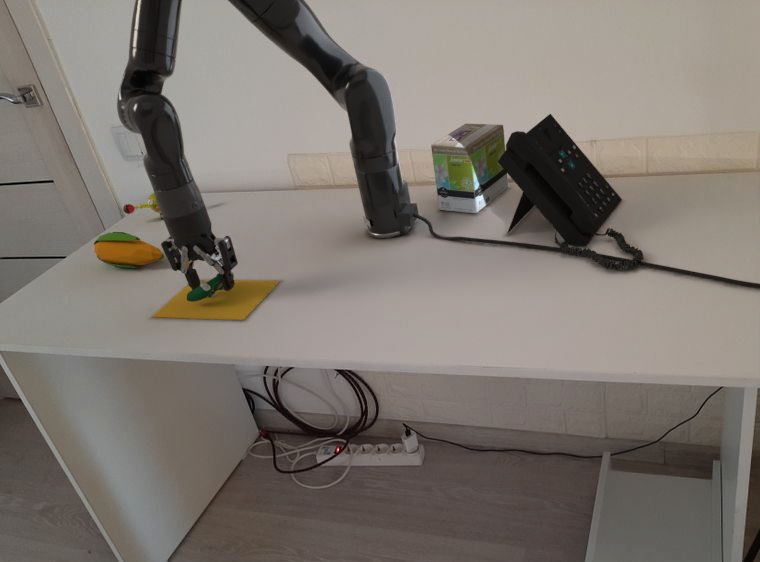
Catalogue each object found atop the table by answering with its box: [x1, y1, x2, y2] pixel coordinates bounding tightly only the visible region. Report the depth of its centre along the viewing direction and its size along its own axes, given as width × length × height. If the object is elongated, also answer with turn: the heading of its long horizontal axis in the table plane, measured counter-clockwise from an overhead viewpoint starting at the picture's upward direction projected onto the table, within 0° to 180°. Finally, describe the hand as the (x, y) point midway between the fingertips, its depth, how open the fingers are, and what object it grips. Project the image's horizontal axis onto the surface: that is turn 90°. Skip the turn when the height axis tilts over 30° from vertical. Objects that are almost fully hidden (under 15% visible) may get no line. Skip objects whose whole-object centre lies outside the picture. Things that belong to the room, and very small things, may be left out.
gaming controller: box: [187, 270, 235, 302], centre depth 130 cm, size 9×4×6 cm
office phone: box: [498, 113, 644, 271], centre depth 127 cm, size 29×28×20 cm
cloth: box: [152, 279, 280, 321], centre depth 132 cm, size 20×14×1 cm
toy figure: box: [122, 192, 164, 220], centre depth 173 cm, size 18×6×7 cm, turn 104°
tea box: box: [430, 123, 509, 214], centre depth 150 cm, size 15×10×15 cm, turn 148°
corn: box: [93, 231, 165, 269], centre depth 150 cm, size 7×8×20 cm
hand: (213, 288), depth 131 cm, fingers closed on gaming controller, 7 cm apart
